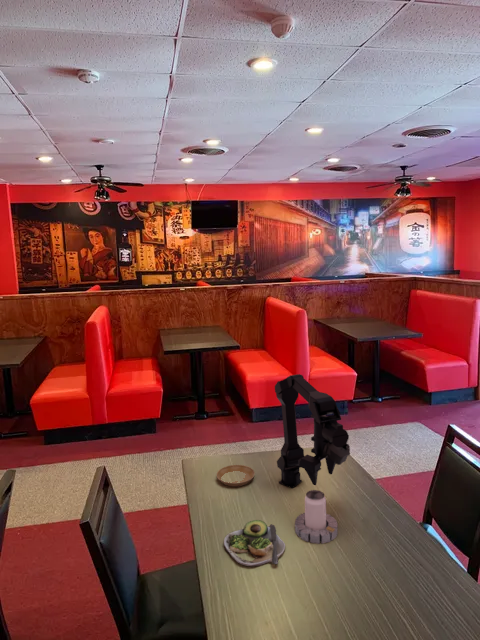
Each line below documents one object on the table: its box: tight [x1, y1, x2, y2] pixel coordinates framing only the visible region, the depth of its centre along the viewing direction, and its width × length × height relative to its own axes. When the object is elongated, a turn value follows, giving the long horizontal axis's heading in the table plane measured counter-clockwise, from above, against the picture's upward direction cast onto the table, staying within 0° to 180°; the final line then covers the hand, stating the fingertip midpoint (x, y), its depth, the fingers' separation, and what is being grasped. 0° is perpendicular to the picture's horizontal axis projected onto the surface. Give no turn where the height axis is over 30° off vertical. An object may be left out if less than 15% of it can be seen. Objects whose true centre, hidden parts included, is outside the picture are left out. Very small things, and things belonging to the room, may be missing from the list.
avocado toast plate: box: [223, 519, 286, 567], centre depth 137 cm, size 19×18×5 cm
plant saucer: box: [216, 464, 256, 487], centre depth 179 cm, size 15×15×3 cm
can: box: [304, 489, 327, 531], centre depth 145 cm, size 6×6×12 cm
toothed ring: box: [294, 512, 338, 545], centre depth 145 cm, size 13×13×3 cm
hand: (322, 479), depth 152 cm, fingers open, 9 cm apart
